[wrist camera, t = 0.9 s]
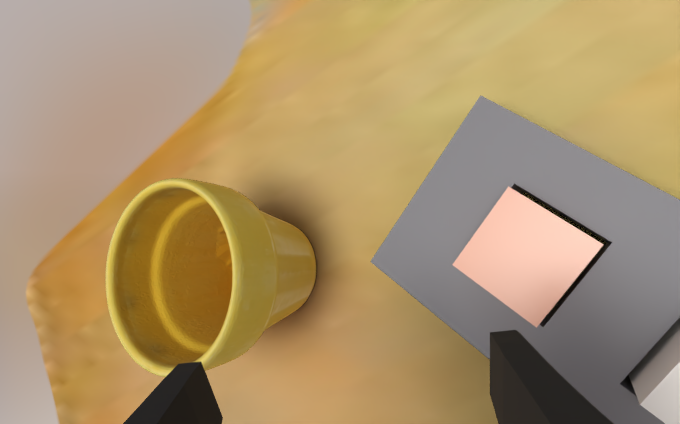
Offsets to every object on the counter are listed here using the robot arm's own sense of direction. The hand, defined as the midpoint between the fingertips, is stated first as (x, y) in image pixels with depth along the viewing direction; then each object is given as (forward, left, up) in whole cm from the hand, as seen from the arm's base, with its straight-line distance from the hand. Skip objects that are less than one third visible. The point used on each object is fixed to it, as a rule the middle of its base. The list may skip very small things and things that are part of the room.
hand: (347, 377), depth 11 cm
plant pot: (+12, +7, -16) cm, 21 cm away
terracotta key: (-1, -4, -13) cm, 14 cm away
